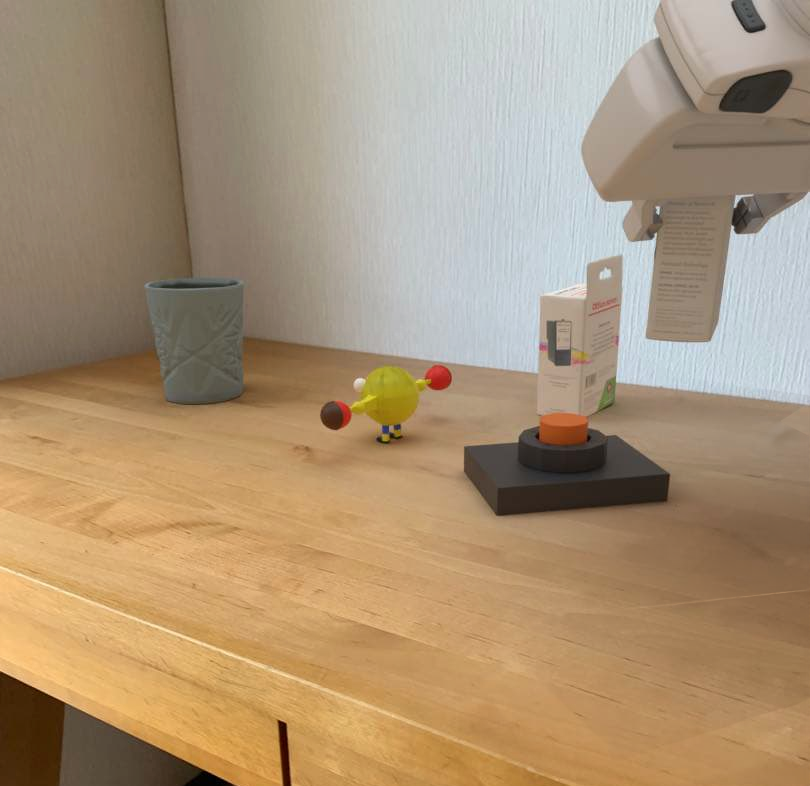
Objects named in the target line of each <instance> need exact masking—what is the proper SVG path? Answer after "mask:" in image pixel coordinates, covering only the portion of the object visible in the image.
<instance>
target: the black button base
mask: <svg viewBox="0 0 810 786" xmlns="http://www.w3.org/2000/svg"><path fill="white" fill-rule="evenodd" d="M539 428H540V425H536V426H534V427H531V428H527V429H523V430H522V432H521V433H520V434H519V436H518V442H503V443H491V444H490V443H489V444H477V445H465V446H463V472H464V474H465V475H466V476H467V478H468V479H469V480H470V482H471V483H472V485H473V486H474V487H475V489H476V490H477V491H478V492H479V494H480V495H481V496H482V498H483V499H484V501H485V502H486V503H487V504H488V506H489V507H490V509H491V510H492V511H493V513H494V514H495V515H496V516H497V517H502V516H512V515H513V516H514V515H524V514H536V513H545V512H546V513H549V512H558V511H569V510H580V509H582V510H583V509H592V508H603V507H606V508H607V507H615V506H629V505H638V504H650V503H663V502H668V497H669V488H670V479H671V473H670V472H668V471H667V470H666V469H664V468H663V467H661V466H660V465H658V464H657V463H656V462H654V461H653V460H652V459H650V458H649V457H648V456H646V455H645V454H643V453H642V452H641V451H639V450H638V449H636V448H635V447H633V446H632V445H630V443H628V442H627V441H625V440H624V439H623V438H622V437H619V436H618V435H616V434H613V435H612V434H611V435H605V434H604V433H603V432H601V431H600V430H598V429H594V428H590V427H588V433H587V442H585V443H582V444H577V445H556V444H548V443H545V442H541V441H539Z"/></svg>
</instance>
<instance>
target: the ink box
mask: <svg viewBox="0 0 810 786" xmlns="http://www.w3.org/2000/svg"><path fill="white" fill-rule="evenodd" d="M605 269H606V270H607V271H609V270H610V276H607V277H604V278H600V276H601V275H600V274H601V273H602V272H604V271H605ZM539 298H540V299H539V305H540V306H539V331H538V332H539V333H538V335H539V336H538V363H537V365H538V367H537V368H538V369H537V395H536V397H537V399H536V415H537V416H541V417H542V416H544V415H548V414H553V413H571V414H577V415H581V416H584V417H586V418H588V417H590V416H592V415H593V414H595V413H597V412H599V411H600V410H603V409H604V408H606V407H608V406H610V405H612V404H613V403H615V399H616V387H617V386H616V385H617V372H618V358H619V344H620V343H619V342H620V330H621V315H622V301H623V254H622V253H619V254H616V255H613V256H612V255H611V256H608V257H604V258H600V259H598V260H594V261H589V262H588V263H587V265H586V283H582V282H581V283H576V284H573V285H571V286H568V287H565V288H562V289H558V290H554V291H552V292H548V293H543V294H540V295H539Z"/></svg>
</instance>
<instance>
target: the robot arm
mask: <svg viewBox="0 0 810 786" xmlns="http://www.w3.org/2000/svg"><path fill="white" fill-rule="evenodd" d="M653 15H654V16H653V22H654V26H655V28H656V32H657V34H658V36H657V37H655V38H653V39H650V40H648V41H647V42H646V43H644V44H642V45H641V46H640V47H639V48H638V49H637V50H636V51H635V52H634V53H632V55H630V57H629V58H628V59H627V60H626V62H625V63H624V65H623V66H622V67H621V69H620V70H619V72H618V73H617V75H616V77H615V78H614V80H613V82H612V83H611V85H610V87H609V88H608V89H607V92H606V94H605V95H604V96H603V98H602V100H601V102H600V104H599V106H598V108H597V110H596V111H595V113H594V115H593V117H592V119H591V121H590V123H589V125H588V127H587V129H586V131H585V134H584V136H583V139H582V142H581V147H580V151H581V153H580V154H581V157H582V162H583V165H584V168H585V170H586V173H587V176H588V177H589V179H590V181H591V183H592V186H593V187H594V189H595V191H596V194H598V196H599V198H600V199H601V200H602V201H604V202H607V203H616V202H617V203H618V202H631V205H630V207H629V209H628V210H627V211H626V214H625V216H624V217H623V218H622V223H621V224H622V229H623V231H624V234H625V237H626V239H627V241H628V242H629V243H637V242H645V241H646V242H647V241H648V242H649V241H652V240H653V239H654V238H656V237H655V234H657V232H658V230H659V229H660V228H661V227H662V225H663V222H662V220H661V218H660V217H659V213H657V212H658V207H660V206H662V205H663V204H664V203H665V201H666V200H667V199H674V198H694V197H713V196H733V195H736V196H742V197H740V199H739V200H738V201H737V203H735V204H736V205H735V206H734V211H733V218H732V226H733V232H734V233H735V234H736V235H754V234H758V233H759V232H760V231H761V230H762V229H763V228H764V227H765V226H766V224H767V223H768V222H769V221H770V220H771V218H774V217H776V216H777V215H779V214H780V213H783V212H784V211H786V210H787V209H789V208H790V207H792V206H793V205H795V204H797V203H798V202H800V201H801V200H803V199H804V198H805V197H806V195H807V194H809V192H810V0H660V1H659V3H658V5H657V7H656V10H655V12H654V14H653Z"/></svg>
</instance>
